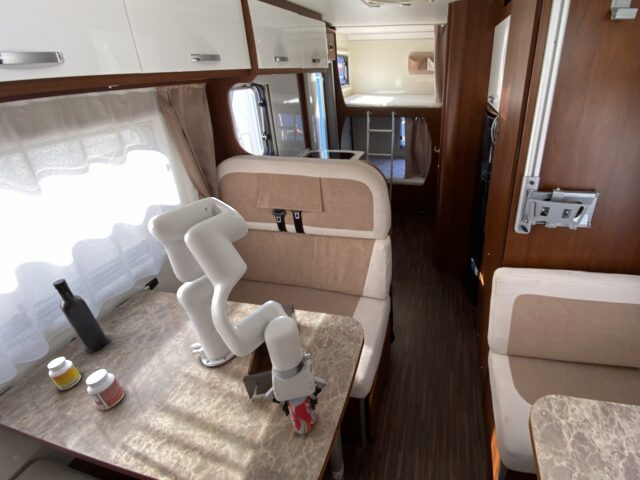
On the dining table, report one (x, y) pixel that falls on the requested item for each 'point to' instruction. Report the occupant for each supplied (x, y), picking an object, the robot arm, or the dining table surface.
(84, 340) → the wine bottle
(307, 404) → the beverage can
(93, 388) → the pill bottle
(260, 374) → the drawer
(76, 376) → the supplement bottle
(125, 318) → the dining table surface
